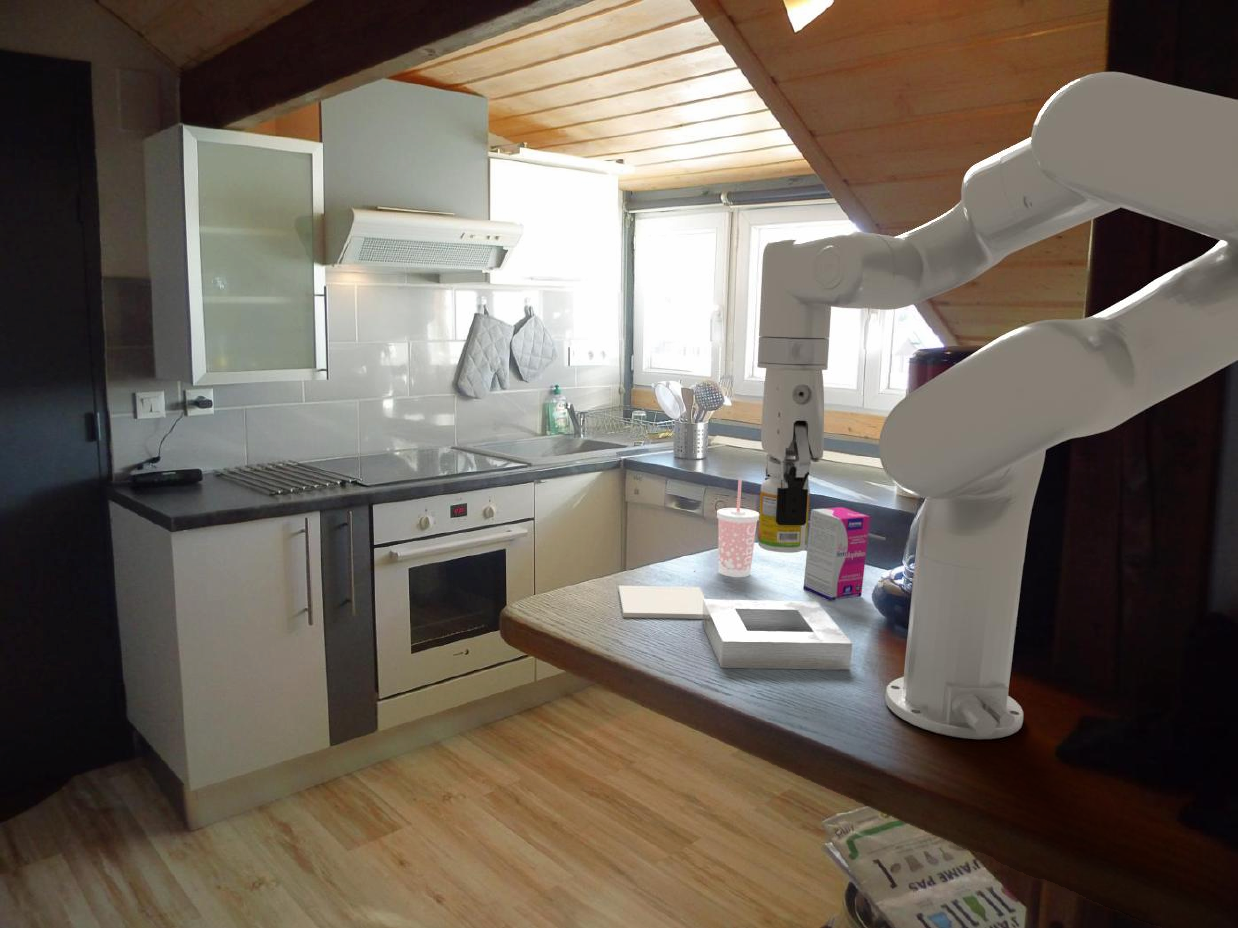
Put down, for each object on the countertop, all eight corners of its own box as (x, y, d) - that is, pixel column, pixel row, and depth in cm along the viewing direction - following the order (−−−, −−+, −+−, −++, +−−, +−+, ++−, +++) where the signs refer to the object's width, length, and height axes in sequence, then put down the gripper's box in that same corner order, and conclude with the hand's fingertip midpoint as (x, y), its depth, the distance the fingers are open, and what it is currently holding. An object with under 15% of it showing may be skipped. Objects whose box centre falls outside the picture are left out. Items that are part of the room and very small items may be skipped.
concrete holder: (849, 669, 98) (852, 643, 98) (721, 667, 97) (722, 640, 97) (815, 624, 112) (816, 601, 111) (701, 622, 111) (703, 599, 111)
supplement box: (831, 602, 121) (838, 518, 119) (802, 589, 126) (808, 508, 124) (863, 597, 124) (871, 514, 122) (833, 584, 129) (840, 505, 127)
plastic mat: (712, 618, 113) (712, 614, 113) (623, 617, 112) (623, 612, 112) (699, 591, 123) (699, 587, 123) (618, 589, 123) (618, 585, 123)
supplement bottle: (776, 539, 106) (781, 456, 105) (816, 548, 102) (821, 462, 101) (748, 546, 102) (752, 461, 101) (787, 556, 98) (792, 467, 97)
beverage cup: (730, 580, 129) (736, 483, 127) (704, 569, 134) (710, 475, 132) (764, 575, 132) (770, 480, 130) (737, 564, 137) (743, 473, 135)
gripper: (851, 359, 91) (839, 537, 93) (806, 353, 108) (797, 503, 110) (776, 357, 90) (767, 536, 93) (743, 351, 107) (736, 502, 110)
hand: (784, 516), depth 102 cm, fingers closed on supplement bottle, 5 cm apart
